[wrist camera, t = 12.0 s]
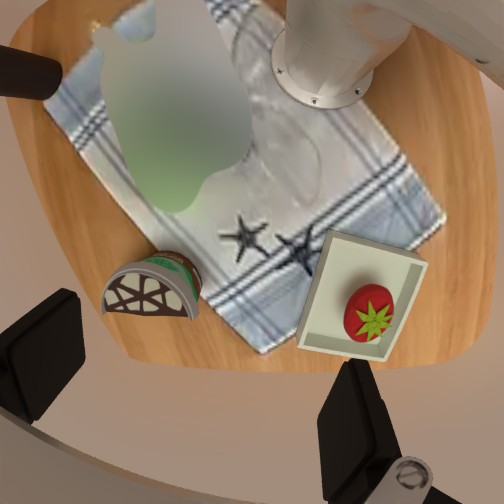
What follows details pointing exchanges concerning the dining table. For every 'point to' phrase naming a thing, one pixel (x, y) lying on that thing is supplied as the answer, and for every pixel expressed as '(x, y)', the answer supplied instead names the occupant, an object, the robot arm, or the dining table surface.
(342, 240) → the serving tray
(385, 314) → the strawberry
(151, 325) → the dining table surface
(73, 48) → the dining table surface
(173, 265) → the food container
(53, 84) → the bottle
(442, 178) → the dining table surface
